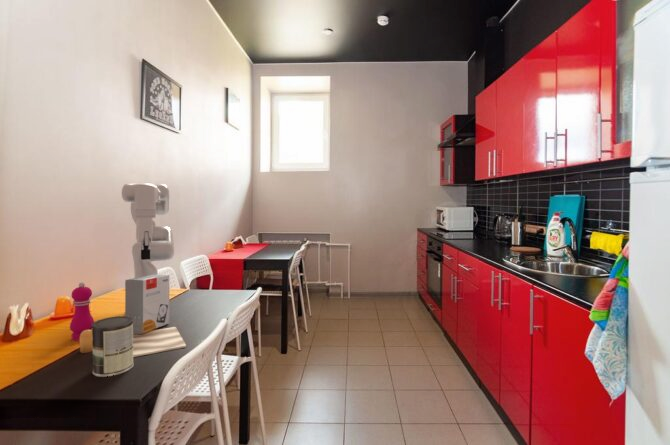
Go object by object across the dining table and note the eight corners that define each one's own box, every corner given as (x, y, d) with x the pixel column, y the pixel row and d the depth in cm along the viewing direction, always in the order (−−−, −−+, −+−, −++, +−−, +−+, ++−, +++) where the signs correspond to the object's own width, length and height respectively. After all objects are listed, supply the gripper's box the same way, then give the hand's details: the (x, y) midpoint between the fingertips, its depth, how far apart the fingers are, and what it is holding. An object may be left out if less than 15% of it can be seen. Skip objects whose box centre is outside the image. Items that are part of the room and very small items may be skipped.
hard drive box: (142, 335, 127) (141, 280, 127) (124, 334, 129) (123, 280, 129) (170, 323, 143) (169, 274, 143) (154, 322, 144) (153, 274, 144)
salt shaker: (80, 349, 116) (80, 329, 116) (94, 347, 118) (94, 326, 118) (79, 353, 113) (79, 332, 112) (94, 351, 115) (94, 330, 115)
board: (121, 336, 128) (121, 335, 127) (175, 328, 137) (175, 326, 137) (124, 358, 109) (124, 357, 109) (186, 347, 119) (186, 345, 119)
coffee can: (84, 377, 97) (83, 327, 96) (105, 361, 107) (104, 316, 107) (122, 376, 98) (122, 327, 97) (140, 360, 108) (139, 315, 108)
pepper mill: (99, 335, 129) (98, 281, 128) (79, 342, 122) (78, 285, 121) (85, 332, 131) (84, 279, 131) (65, 339, 125) (64, 283, 124)
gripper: (133, 214, 147) (133, 257, 147) (135, 214, 134) (136, 262, 135) (153, 214, 151) (153, 256, 151) (157, 214, 138) (158, 260, 139)
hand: (145, 259), depth 143 cm, fingers closed
